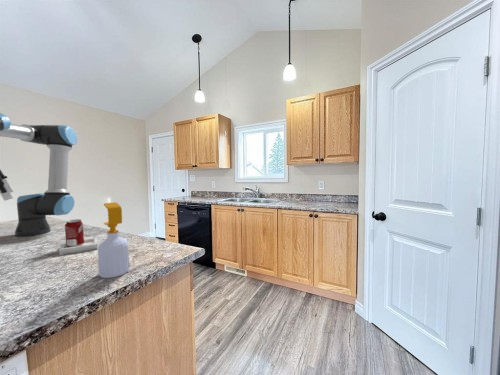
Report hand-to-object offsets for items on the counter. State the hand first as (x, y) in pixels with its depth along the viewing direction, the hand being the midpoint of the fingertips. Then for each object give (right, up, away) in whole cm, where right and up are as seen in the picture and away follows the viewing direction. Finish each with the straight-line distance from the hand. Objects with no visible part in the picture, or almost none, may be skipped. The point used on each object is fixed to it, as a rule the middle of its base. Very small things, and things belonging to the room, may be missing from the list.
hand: (9, 195), depth 101 cm
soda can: (+25, -24, +5) cm, 35 cm away
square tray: (+28, -25, +5) cm, 38 cm away
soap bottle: (+60, -26, -22) cm, 69 cm away
